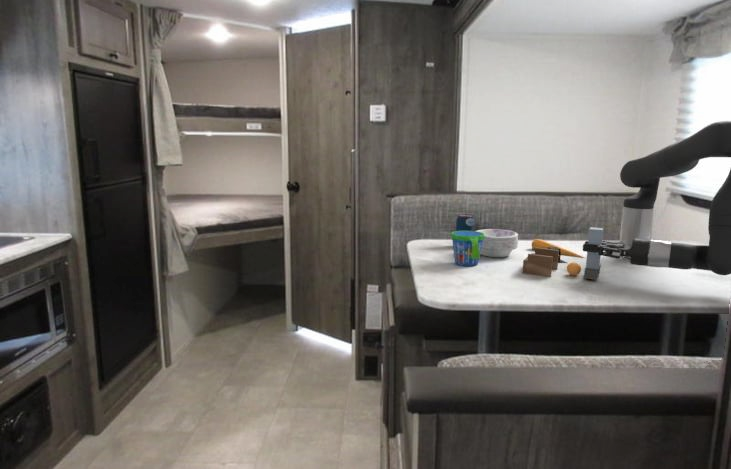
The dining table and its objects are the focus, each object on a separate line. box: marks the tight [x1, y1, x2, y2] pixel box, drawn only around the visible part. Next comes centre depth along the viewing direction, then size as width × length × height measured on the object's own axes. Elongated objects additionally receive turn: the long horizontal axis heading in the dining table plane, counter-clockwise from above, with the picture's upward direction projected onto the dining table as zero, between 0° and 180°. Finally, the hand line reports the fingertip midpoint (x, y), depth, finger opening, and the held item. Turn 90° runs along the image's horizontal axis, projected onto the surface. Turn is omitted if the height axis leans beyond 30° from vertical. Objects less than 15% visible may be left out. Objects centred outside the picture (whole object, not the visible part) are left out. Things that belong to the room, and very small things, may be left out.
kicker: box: [583, 226, 604, 281], centre depth 149 cm, size 9×3×14 cm, turn 150°
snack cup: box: [450, 230, 485, 267], centre depth 164 cm, size 16×10×10 cm
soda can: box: [455, 213, 476, 231], centre depth 189 cm, size 7×7×12 cm
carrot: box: [531, 238, 585, 259], centre depth 181 cm, size 20×4×4 cm, turn 46°
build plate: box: [547, 247, 568, 264], centre depth 172 cm, size 12×7×5 cm, turn 6°
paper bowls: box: [476, 228, 519, 258], centre depth 178 cm, size 15×15×8 cm
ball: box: [566, 261, 582, 276], centre depth 153 cm, size 4×4×4 cm
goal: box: [522, 247, 559, 278], centre depth 157 cm, size 11×8×6 cm
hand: (584, 246), depth 150 cm, fingers closed on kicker, 3 cm apart
